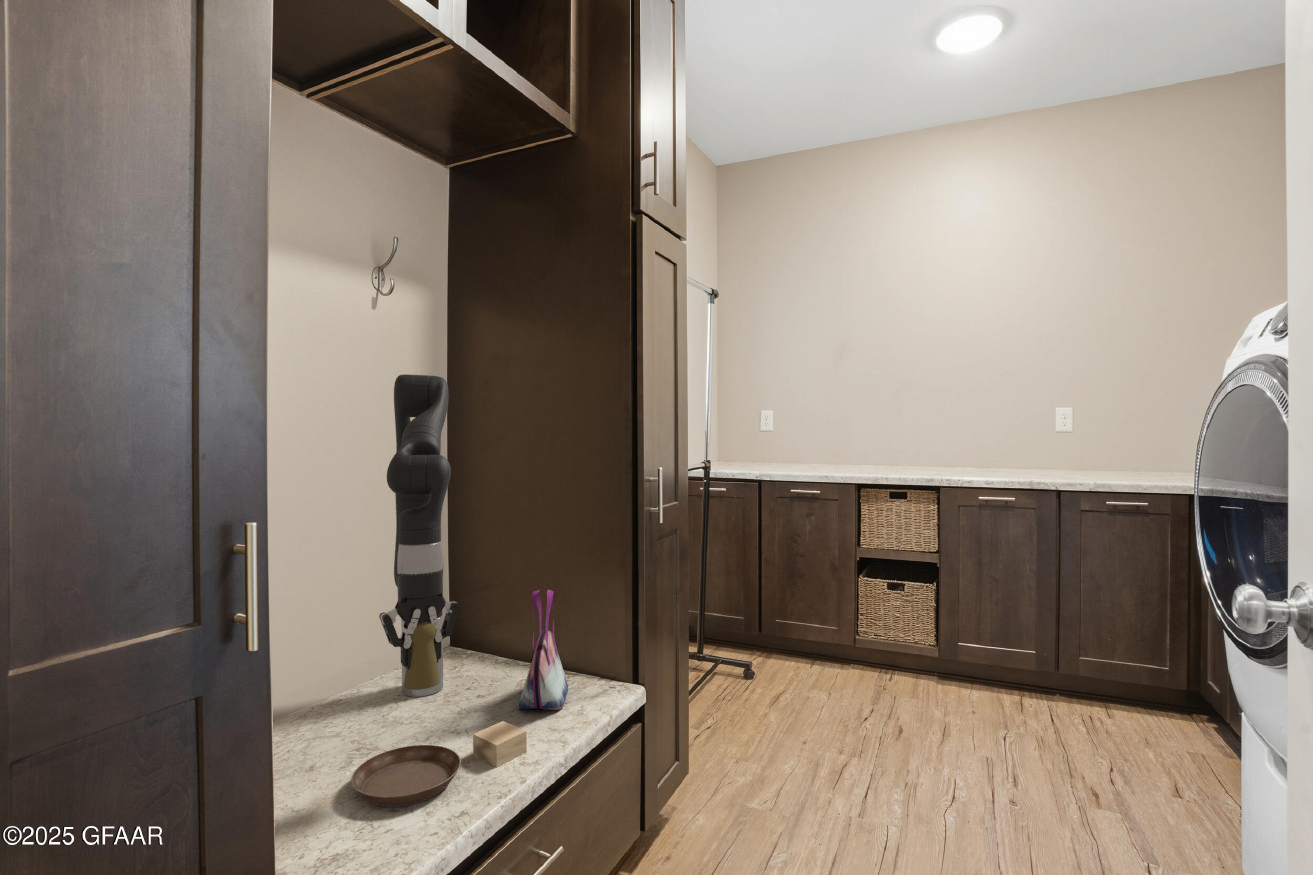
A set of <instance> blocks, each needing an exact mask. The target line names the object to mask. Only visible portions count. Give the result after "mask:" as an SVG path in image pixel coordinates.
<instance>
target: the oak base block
mask: <svg viewBox="0 0 1313 875" xmlns="http://www.w3.org/2000/svg"><path fill="white" fill-rule="evenodd" d="M527 743H528V742H527V730H525V729H522V728H520V727H518V726H515V725H513V724H511V723H508V722H506V721H504V720H502V721H500V722H497V723H495V724H493V725H491V726H489V727H486V728H484V729H482V730H479V731H477V732H475V733H472V753H473V756H474V757H476V758H478V759H480V760H482V761H484V762H485V763H488V764H490V765H492V766H493V767H496V768H497V767H500V766H502V765H503V764H505V763H508V762H510V761H512V760H514V759H515V758H517V757H519V756H522V755H523V754H526V753H527V751H528V750H527V747H528V746H527Z"/></svg>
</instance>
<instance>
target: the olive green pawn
mask: <svg viewBox="0 0 1313 875" xmlns="http://www.w3.org/2000/svg"><path fill="white" fill-rule="evenodd" d="M407 629H408V626H407ZM436 633H437V630H436V628H435V626H434V625H433V624H432V623H431V622H423V623H419V624H417V627H416V628H415V630H414V632H413V634H412V635H411V636H410V637H411V640H412V642H411V646H410V647H411V648H412V659H411V666H410V669H408V670H407V669H406V672H405V680H404V687H405V688H406V689H410V690H421V689H427V688H431V687H434V686H436V685H438V684H439V683H440V677H439V671H438V664H437V659H436V652H435V645H434V638H435V636H436Z"/></svg>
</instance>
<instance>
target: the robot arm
mask: <svg viewBox="0 0 1313 875" xmlns="http://www.w3.org/2000/svg"><path fill="white" fill-rule="evenodd" d="M449 395H450V394H449V386H448V383H447V381H446V379H445V378H444V377H441V376H437V375H427V374H425V375H424V374H407V373H406V374H399V375H398V376H397V377H396V378H395V381H394V386H393V406H394V408H393V410H394V422H395V423H394V424H395V439H396V450H395V451H396V452H395V454H394V455H393V457H392V458H391V460H390V461H389V464H388V467H387V470H386V483H387V485H388V488H389V490H391V492H392V493H394V494H395V519H396V523H395V525H396V526H395V527H396V529H395V547H394V558H393V559H394V560H393V561H394V563H393V577H394V583H395V586H396V587H397V602H396V603H395V607H394V608H393V609H391V610H389V611H386V612H384V611H383V612H380V614H379V615H378V617H379V620H380V622H381V625H382V627H383V630H384V633H385V635H386V637H387V641H388V643H389V644H390V645H392V646H393V647H394V648H400V664H401V693H402V694H403V695H404V696H407V697H426V696H430V695H433V694H435V693H438V692H440V691H441V690H442V689H443V688H444V639H445V638H447V637H451V636H452V635H453V631H454V628H455V624H456V621H457V618H458V614H459V612H460V608H461V604H460V603H459V602H457V601H454V600H451V601H449V600H446V599H445V597H444V555H443V548H442V511H443V506H444V502H445V498H446V496H447V495H446V494H447V490H448V488H449V483H450V480H451V477H452V469H451V468H452V467H451V464H450V462H449V460H448V459H447V458H446V457H445V456H444V455H441V449H442V448H441V446H442V445H441V443H442V431H443V428H444V425H445V421H446V419H447V418H446V417H447V414H448V408H449V398H450V397H449ZM411 418H413V419H411ZM443 610H444V613H445V615H444V618H443ZM397 617H399V618H400V619H401V621H400V623H401V624H400V626H401V629H400V630H401V633H400V634H401V635H400V637H399V636H398V633H397V630H396V628H395V626H394V625H395V623H396V620H397ZM423 622H431V623H432V624H433V625H434V626H435V628H436V630H437V633H436V636H435V638H434V645H435V652H436V659H437V664H438V671H439V677H440V683H439V684H438V685H436V686H434V687H431V688H427V689H421V690H410V689H406V688H405V687H404V680H405V672H406V669H407V670H408V669H410V666H411V659H412V648H411V647H410V646H411V642H412V640H411V637H410V636H411V635H412V634H413V632H414V630H415V628H416V627H417V624H419V623H423ZM407 626H408V629H407Z"/></svg>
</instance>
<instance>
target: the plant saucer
mask: <svg viewBox="0 0 1313 875" xmlns="http://www.w3.org/2000/svg"><path fill="white" fill-rule="evenodd" d="M461 761H462V760H461V756H460V754H458V752H456V751H454V750H453V749H451V748H448V747H445V746H441V745H435V744H417V745H414V744H413V745H407V746H402V747H396V748H393V749H389V750H387V751H384V752H382V753H381V752H380V753H379V754H377V755H374V756H372V757H370V758H369V759H367V760H365V761H364V762H363V763H361V764H360V765H359V766H358V767H357V768H356V769H354V772H353V773H352V774H351V778H350V782H351V783H350V784H351V786H352V788H353V789H354V791H355V792H356V793H357V794H358V795H359V796H360V797H362V799H364V800H365V801H366V802H368V803H370V804H372V805H376V806H380V807H393V808H396V807H405V806H409V805H414V804H417V803H421V802H424V801H427V800H428V799H430V798H432V797H434V796H437V795H438V794H439V793H440V792H442V791H444V789H445V788H446V787H447V786H449V784H450V783H451V782H452V781H453V779H454V777H455V776H456V775H457V773H458V771H459V769H460V767H461V765H462V764H461V763H462V762H461Z"/></svg>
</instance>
